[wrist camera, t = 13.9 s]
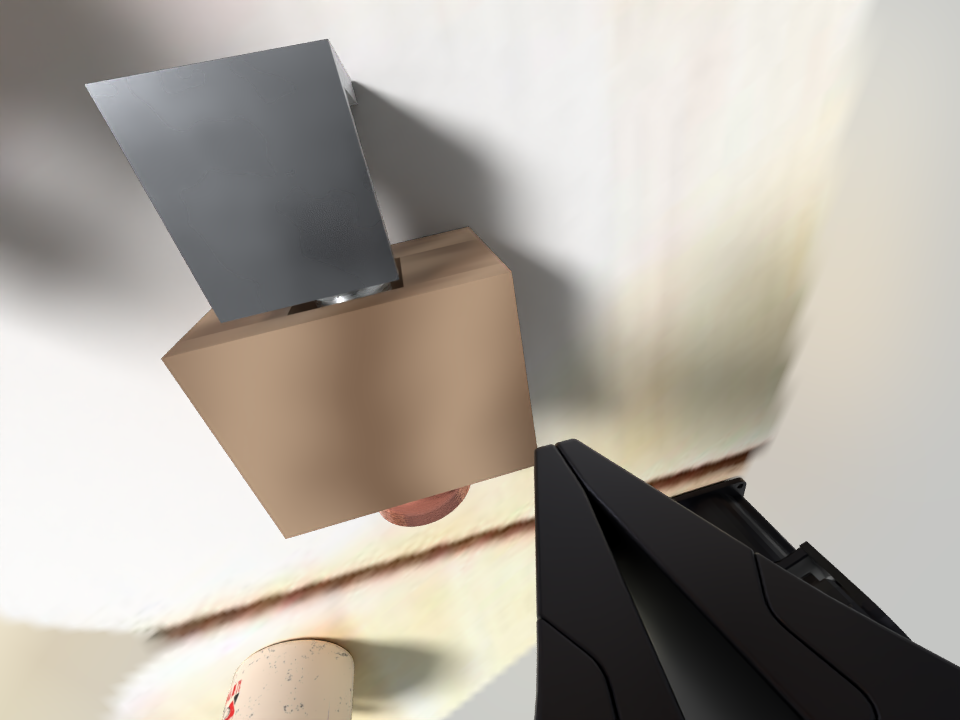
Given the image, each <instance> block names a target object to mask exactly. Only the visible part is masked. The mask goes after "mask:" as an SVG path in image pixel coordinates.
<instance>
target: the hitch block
mask: <svg viewBox="0 0 960 720" xmlns="http://www.w3.org/2000/svg"><path fill="white" fill-rule="evenodd" d="M391 248H392V251H393V254H394V258H395V261H396V265H397V268H398V271H399V280H396V281H392V282H390V283H391V287H392V290H389V291H385V292H381V293H377V294H373V295H369V296H365V297H361V298H357V299H353V300H349V301H345V302H341V303H337V304H332V305H328V306H324V307H320V308H318V307H317V305H316V303H315V300H314V301H310V302H306V303H302V304H298V305H294V306H290V307H286V308H281V309H277V310H273V311H269V312H265V313H261V314H257V315H253V316H249V317H244V318H240V319H236V320H232V321H228V322H224V323H220V321H219V319H218V317H217V316H216V314H215V312H214V310H213V309H211V310H210V311H209V312H208V313H207V314H206V315H205V316H204V317H203V318H202V319H201V320H200V321H199V322H198V323H197V324H196V325H195V326H194V327H193V328H192V329H191V330H190V331H189V332H188V333H186V334H185V335H184V336H183V337H182V338H181V339H180V340H179V341H178V342H177V343H176V344H175V345H174V346H173V347H172V348H171V349H170V350H169V351H168V352H167V353H166V354H165V355H164V356H163V357H162V358H161V359H162V361H163V362H164V364H165V365H166V367H167V368H168V369H169V371H170V372H171V374H172V375H173V377H174V378H175V380H176V381H177V382H178V384H179V385H180V387H181V388H182V390H183V391H184V393H185V394H186V395H187V397H188V398H189V400H190V401H191V403H192V404H193V406H194V407H195V408H196V410H197V411H198V413H199V414H200V416H201V417H202V419H203V420H204V421H205V423H206V424H207V426H208V427H209V429H210V430H211V432H212V433H213V434H214V436H215V437H216V439H217V440H218V442H219V443H220V445H221V446H222V448H223V449H224V450H225V452H226V453H227V455H228V456H229V458H230V459H231V461H232V462H233V463H234V465H235V466H236V468H237V469H238V471H239V472H240V474H241V475H242V476H243V478H244V479H245V481H246V482H247V484H248V485H249V487H250V488H251V489H252V491H253V492H254V494H255V495H256V497H257V498H258V500H259V501H260V502H261V504H262V505H263V507H264V508H265V510H266V511H267V513H268V514H269V515H270V517H271V518H272V520H273V521H274V523H275V524H276V526H277V527H278V529H279V530H280V531H281V533H282V534H283V536H284V537H285V539H287V538H291V537H294V536H298V535H301V534H304V533H308V532H311V531H315V530H318V529H321V528H325V527H328V526H332V525H335V524H338V523H342V522H345V521H349V520H352V519H355V518H359V517H362V516H366V515H369V514H372V513H376V512H379V511H383V510H386V509H389V508H393V507H396V506H400V505H403V504H406V503H410V502H413V501H417V500H420V499H423V498H427V497H430V496H434V495H437V494H440V493H444V492H447V491H451V490H454V489H457V488H461V487H464V486H467V485H471V484H474V483H478V482H481V481H484V480H488V479H491V478H495V477H498V476H501V475H505V474H508V473H512V472H515V471H518V470H522V469H525V468H529V467H532V466H534V450H535V449H536V448H537V444H536V437H535V430H534V423H533V416H532V409H531V402H530V395H529V388H528V381H527V374H526V368H525V361H524V354H523V347H522V340H521V333H520V326H519V319H518V312H517V305H516V298H515V291H514V284H513V277H512V271H511V270H510V269H509V268H508V267H507V266H506V265H505V264H504V263H503V262H502V261H501V260H500V259H499V258H498V257H497V256H496V255H495V254H494V253H493V252H492V250H491V249H490V248H489V247H488V246H487V245H486V244H485V243H484V242H483V241H482V240H481V239H480V238H479V237H478V236H477V235H476V234H475V233H474V232H473V231H472V229H471V228H470V227H465V228H460V229H456V230H452V231H448V232H443V233H439V234H435V235H431V236H426V237H422V238H418V239H414V240H409V241H405V242H401V243H397V244H392V245H391Z"/></svg>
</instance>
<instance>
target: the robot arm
mask: <svg viewBox="0 0 960 720" xmlns="http://www.w3.org/2000/svg"><path fill="white" fill-rule="evenodd" d="M534 488H535V546H536V605H537V679H536V680H537V681H536V682H537V683H536V703H535V704H536V705H535V717H534V720H960V667H959V666H957V665H955V664H953V663H951V662H950V661H948V660H946V659H944V658H942V657H940V656H938V655H937V654H934V653H932V652H931V651H929V650H927V649H925V648H923V647H922V646H920V645H918V644H916V643H914V642H912V641H911V639H910V638H909V637H908V636H907V635H906V634H905V633H904V632H903V631H902V630H901V629H900V628H899V627H898V626H897V625H896V624H895V623H894V622H893V621H892V620H891V619H890V618H889V617H888V616H887V615H886V614H885V613H884V612H883V611H882V610H881V609H880V608H879V607H878V606H877V605H876V604H875V603H874V602H873V601H872V600H871V599H870V598H869V597H867V596H866V595H865V594H864V593H863V592H862V591H861V590H860V589H859V588H858V587H857V586H855V585H854V584H853V583H852V582H851V581H850V580H848V578H847V577H846V576H844V575H843V574H842V573H841V572H840V571H839V570H838V569H837V568H835V567H834V566H833V565H832V564H831V563H830V562H829V561H828V560H827V559H826V558H825V557H823V556H822V555H821V554H820V553H819V552H818V551H817V550H816V549H815V548H814V547H812V546H811V545H810V544H809V543H808V542H807V541H806V542H804V543H803V544H801V545H800V548H798V549H797V550H796V549H795V548H794V547H793V546H792V545H791V544H790V543H789V542H787V540H786V539H785V538H784V537H783V536H782V535H781V534H780V533H779V532H778V531H777V530H776V529H775V528H774V527H773V526H772V525H771V524H770V523H769V522H768V521H767V520H766V519H765V518H764V517H763V516H762V515H761V514H760V513H759V512H758V511H757V510H756V509H755V508H754V507H753V506H752V505H751V504H750V503H749V502H748V501H747V500H746V499H745V498H744V497H743V496H744V491H745V488H746V482H745V481H744V480H743V479H742V478H735V479H732V480H729V481H726V482H723V483H719V484H716V485H713V486H710V487H706V488H703V489H700V490H697V491H694V492H690V493H687V494H684V495H681V496H678V497H674V498H670V497H668V496H666V495H665V494H663V493H662V492H660V491H658V490H657V489H655V488H654V487H652V486H650V485H649V484H647V483H646V482H644V481H642V480H641V479H639V478H638V477H636V476H634V475H633V474H631V473H630V472H628V471H626V470H625V469H623V468H622V467H620V466H618V465H617V464H615V463H614V462H612V461H610V460H609V459H607V458H606V457H604V456H602V455H601V454H599V453H598V452H596V451H594V450H593V449H591V448H590V447H588V446H586V445H585V444H583V443H582V442H580V441H579V440H577V439H569V440H565V441H562V442H558V443H556V444H555V445H552V444H550V445H546V446H542V447H539V448H536V449H535V450H534Z"/></svg>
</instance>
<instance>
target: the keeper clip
mask: <svg viewBox="0 0 960 720" xmlns="http://www.w3.org/2000/svg"><path fill="white" fill-rule="evenodd" d="M85 86H86V88H87V90H88V91H89V93H90V95H91V97H92V98H93V100H94V102H95V104H96V105H97V107H98V109H99V111H100V112H101V114H102V116H103V118H104V120H105V121H106V123H107V125H108V127H109V128H110V130H111V132H112V134H113V135H114V137H115V139H116V141H117V142H118V144H119V146H120V148H121V149H122V151H123V153H124V155H125V156H126V158H127V160H128V162H129V163H130V165H131V167H132V169H133V170H134V172H135V174H136V176H137V177H138V179H139V181H140V183H141V184H142V186H143V188H144V190H145V191H146V193H147V195H148V197H149V198H150V200H151V202H152V204H153V205H154V207H155V209H156V211H157V212H158V214H159V216H160V218H161V219H162V221H163V223H164V225H165V226H166V228H167V230H168V232H169V233H170V235H171V237H172V239H173V240H174V242H175V244H176V246H177V247H178V249H179V251H180V253H181V254H182V256H183V258H184V260H185V261H186V263H187V265H188V267H189V268H190V270H191V272H192V274H193V275H194V277H195V279H196V281H197V282H198V284H199V286H200V288H201V289H202V291H203V293H204V295H205V296H206V298H207V300H208V302H209V303H210V305H211V307H212V309H213V310H214V312H215V314H216V316H217V317H218V319H219V321H220V323H224V322H228V321H232V320H236V319H240V318H244V317H249V316H253V315H257V314H261V313H265V312H269V311H273V310H277V309H281V308H286V307H290V306H294V305H298V304H302V303H306V302H310V301H314V300H318V299H322V298H327V297H331V296H335V295H339V294H343V293H347V292H351V291H355V290H359V289H363V288H368V287H372V286H376V285H380V284H384V283H388V282H392V281H396V280H399V271H398V268H397V265H396V261H395V258H394V254H393V251H392V248H391V244H390V241H389V238H388V234H387V231H386V227H385V224H384V221H383V217H382V214H381V210H380V207H379V204H378V200H377V197H376V193H375V190H374V187H373V183H372V180H371V176H370V173H369V170H368V166H367V163H366V160H365V156H364V153H363V149H362V146H361V143H360V139H359V136H358V132H357V129H356V126H355V122H354V119H353V115H352V112H351V109H350V106H352V105H357V104H358V103H357V100H356V96H355V93H354V89H353V86H352V82H351V79H350V77H349V75H348V73H347V71H346V70H345V68H344V66H343V64H342V63H341V61H340V59H339V57H338V56H337V54H336V52H335V50H334V49H333V47H332V45H331V43H330V42H329V40H328V39H324V40H319V41H313V42H308V43H303V44H297V45H292V46H286V47H281V48H276V49H270V50H265V51H260V52H254V53H249V54H244V55H238V56H233V57H228V58H222V59H217V60H211V61H206V62H201V63H195V64H190V65H185V66H179V67H174V68H169V69H163V70H158V71H153V72H147V73H142V74H137V75H131V76H126V77H120V78H115V79H110V80H104V81H99V82H94V83H88V84H85Z"/></svg>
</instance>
